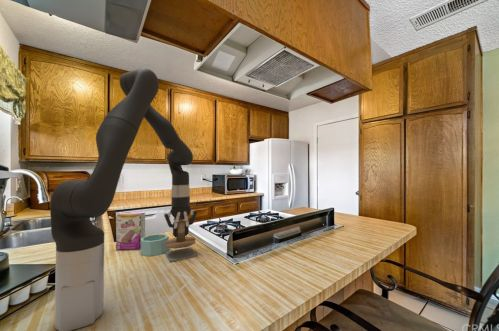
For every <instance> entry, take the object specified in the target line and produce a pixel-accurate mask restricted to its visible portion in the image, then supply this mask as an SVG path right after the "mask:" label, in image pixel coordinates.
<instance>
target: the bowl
mask: <svg viewBox="0 0 499 331" xmlns="http://www.w3.org/2000/svg"><path fill="white" fill-rule="evenodd" d="M169 238H170V237H169V236H168V234H167V233H166V234H164V233H156V234H148V235H145V237H143V238H141V242H140V250H139V251H140V255H141V256H144V257H154V256H159V255H163V254H164V253H165V252H168V251H170V250H169V249H170V248H168V247H166V241H168V240H170V239H169Z"/></svg>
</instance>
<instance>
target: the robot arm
mask: <svg viewBox="0 0 499 331" xmlns="http://www.w3.org/2000/svg"><path fill="white" fill-rule="evenodd" d="M119 86H120V88H121V90H122V92H123V93H124V96H125V97H124V98H123V99H122V100H120V102H118V103H117V104H116V105H115V106H114V107H112V108H111V109H110V110H109V112H108V113H107V114H106V115H105V116H104V118H103V120H102V121H101V123H100V125H99V127H98V129H97V131H96V135H95V142H96V143H95V144H96V149H97V152H98V159H97V163H96V165H95V167H94V169H93V171H92V173H91V174H90V176H89V177H88V179H72V180H71V179H70V180H64V181H63V182H61V183H59V184H58V185H57V186H56V187H55V188H54V190H53V192H52V195H51V197H50V205H49V208H50V209H49V210H50V230H51V231H50V232H51V237H52V239H53V241H54V243H55V279H54V280H55V283H54V284H55V287H54V289H55V290H54V329H55V330H57V331H73V330H76V329H80V328H83V327H86V326H90V325H93V324H95V321H96V320H97V319H98V318H100V317H101V315H102V314H103V313H104V306H105V305H104V303H105V302H104V300H105V296H104V295H105V290H104V289H105V288H104V286H105V284H104V282H105V232H104V230H103V229H102V228H99V227H98V226H97V225H95V224H94V223H93V222H92V221H91V218H92V219H93V218H95V219H96V218H99V217H101V216H102V215H104V214H105V213H107V211H108V210H109V209H110V207H111V205H112V202H113V200H114V198H115V195H116V190H117V188H118V184H119V181H120V177H121V173H122V171H123V168H124V165H125V163H126V161H127V158H128V155H129V152H130V150H131V148H132V146H133V144H134V142H135V139H136V137H137V135H138V132H139V129H140V127H141V125H142V122H143V120H144V119H145V120H146V122H147V123H148V124H149V126H150V127H151V128H152V129H153V131H154V133H155V134H156V136H157V137H158V139H159V140H160V142H161V143H162V145H163V147H164V148H165V149H167V150H170V151H169V153H168V155H167V163H168V167H169V170H170V173H171V191H170V192H171V194H170V196H171V209H170V211H169V212H167V213H166V212H165V213H164V214H163V217H164V218H165V221H166V224H167V226H168V227H169V228H172V236H174V238H176V237H177V224H178V221H181V220H182V221H185V237H188V234H190V232H189V227H190V226H191V225H194V222H195V219H196V217H197V213H198V212H197V211H196V210H194V209H192V208H191V195H190V194H191V190H190V189H191V188H190V173H189V172H188V171H187V170H184V169H183V167H182V166H188V165H191V164H192V163H193V160H194V154H193V152H192V150H191V148H190V147H188V145H187V144H186V143H185V142H184V141H183V140H182V139H181V138H180V136H179V134H178V132H177V131H176V129H175V127H174V125H173V124H172V123H171V121H169V120H168V119H167V118H166V117H165V116H164V115H162V114H161V113H159V111H158V110H156V109H155V108H154V107H153V106H152V105H151V104H152V103H153V101H154V100H155V98H156V96H157V94H158V92H159V87H160V83H159V79H158V76H157V73H155V71H153V70H152V69H149V68H148V67H147V68H146V67H145V68H143V67H142V68H141V67H140V68H137V69H134V70H131V71H127V72H124V73H123V74H121V75H120V77H119ZM189 215H191V216H190V217H189V218H188V216H189ZM171 216H172V217H173V222H172V221H171V219H170V218H171Z"/></svg>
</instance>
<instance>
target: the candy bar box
mask: <svg viewBox="0 0 499 331" xmlns="http://www.w3.org/2000/svg"><path fill="white" fill-rule="evenodd" d="M115 225H116V231H115V233H116V234H115V235H116V237H115V238H116V240H115V251H124V250H125V251H127V250H126V249H134V250H136V251H137V250H139V251H140V242H141V238H143V237H145V236H146V212H143V211H142V212H140V211H139V212H137V211H136V212H135V211H134V212H130V211H129V212H127V211H126V212H120V213H117V214H116V224H115ZM134 250H133V251H134Z"/></svg>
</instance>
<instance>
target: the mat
mask: <svg viewBox="0 0 499 331" xmlns="http://www.w3.org/2000/svg"><path fill="white" fill-rule="evenodd" d="M165 256H166V258H167V260H168V261H169V263H173V262H178V261H183V260H188V259H192V258H196V257H197V258H198V256H199V254H197V253H196V251H195V250H194V249H193V248H192V247H191V246H189V247H184V248H177V249H173V250H168V251H166V252H165Z"/></svg>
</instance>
